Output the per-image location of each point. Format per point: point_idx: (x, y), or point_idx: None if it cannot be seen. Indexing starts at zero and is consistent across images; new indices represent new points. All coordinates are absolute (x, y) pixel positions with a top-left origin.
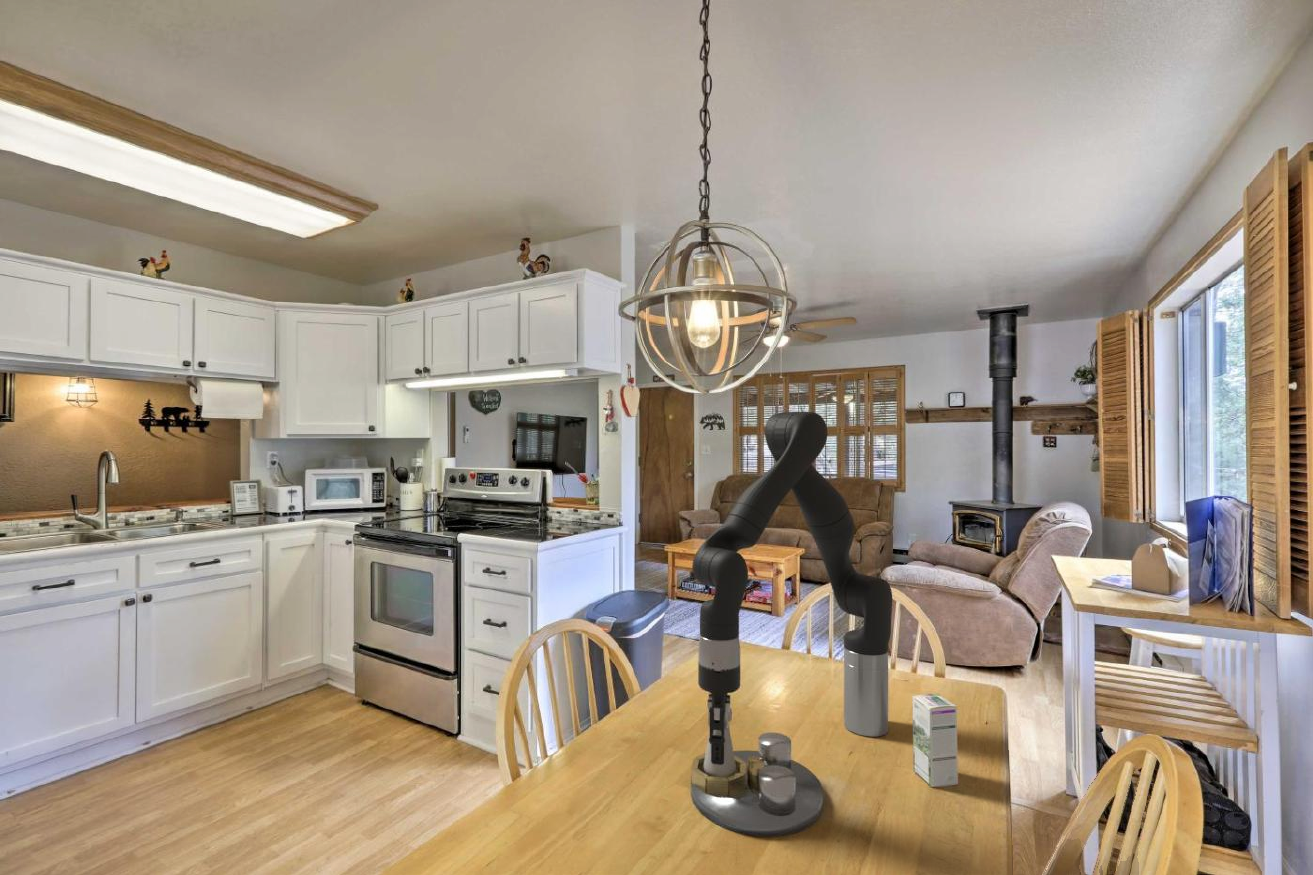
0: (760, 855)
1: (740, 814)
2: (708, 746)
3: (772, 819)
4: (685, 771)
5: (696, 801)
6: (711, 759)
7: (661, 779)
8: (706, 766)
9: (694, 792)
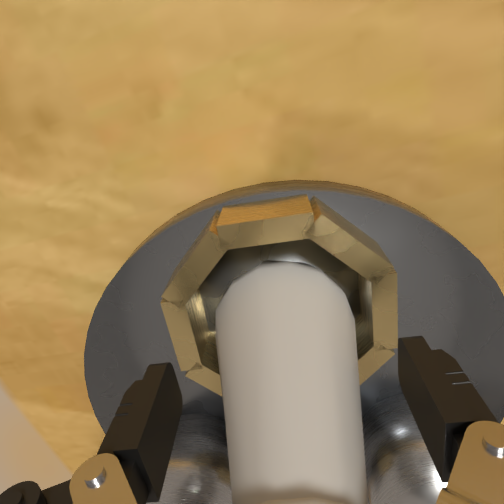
0: (47, 404)
1: (112, 380)
2: (250, 350)
3: None
4: (382, 127)
5: (150, 237)
6: (145, 374)
7: (293, 38)
8: (234, 293)
9: (164, 232)
